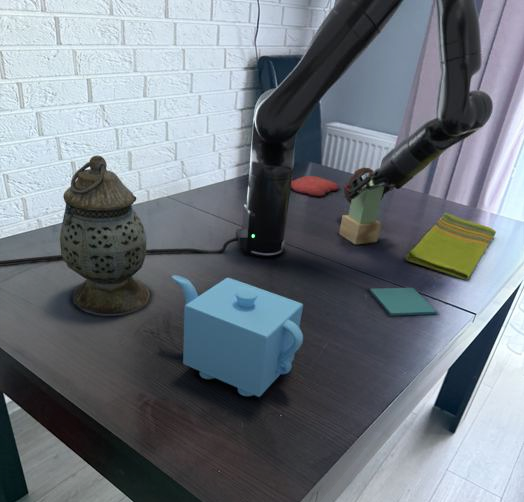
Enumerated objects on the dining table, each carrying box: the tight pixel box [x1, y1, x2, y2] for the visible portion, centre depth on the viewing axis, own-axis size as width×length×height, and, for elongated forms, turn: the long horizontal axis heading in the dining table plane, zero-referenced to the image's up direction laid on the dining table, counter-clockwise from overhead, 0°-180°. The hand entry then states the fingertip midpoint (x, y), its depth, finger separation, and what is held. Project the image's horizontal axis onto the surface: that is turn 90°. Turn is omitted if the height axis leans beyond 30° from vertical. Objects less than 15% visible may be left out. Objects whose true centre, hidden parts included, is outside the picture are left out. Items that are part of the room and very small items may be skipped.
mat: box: [369, 287, 437, 317], centre depth 103 cm, size 10×10×1 cm
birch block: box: [338, 214, 382, 245], centre depth 128 cm, size 7×7×5 cm
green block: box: [347, 180, 384, 223], centre depth 124 cm, size 5×5×9 cm
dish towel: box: [405, 212, 497, 281], centre depth 129 cm, size 15×36×3 cm, turn 150°
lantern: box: [59, 155, 151, 317], centre depth 85 cm, size 14×14×25 cm
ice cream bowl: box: [343, 167, 385, 205], centre depth 134 cm, size 11×11×15 cm
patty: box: [291, 175, 340, 198], centre depth 161 cm, size 18×14×2 cm
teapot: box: [171, 274, 304, 398], centre depth 75 cm, size 22×11×14 cm, turn 61°
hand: (363, 194), depth 125 cm, fingers open, 8 cm apart
